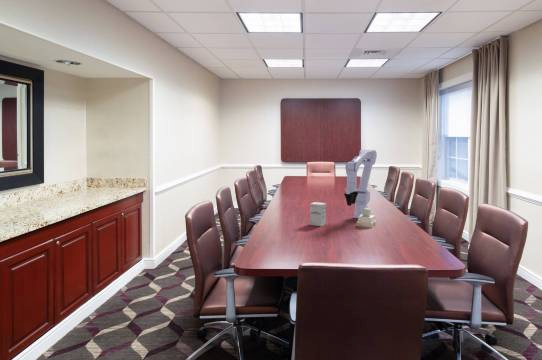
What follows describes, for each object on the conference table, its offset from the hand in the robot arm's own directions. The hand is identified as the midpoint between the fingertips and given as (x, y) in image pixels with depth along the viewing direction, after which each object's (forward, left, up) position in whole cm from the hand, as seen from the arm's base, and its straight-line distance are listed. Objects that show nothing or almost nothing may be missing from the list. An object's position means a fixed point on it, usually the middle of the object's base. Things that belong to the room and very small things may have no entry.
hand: (351, 204), depth 233 cm
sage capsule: (+5, +11, -5) cm, 13 cm away
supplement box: (+17, -14, -11) cm, 25 cm away
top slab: (+5, +11, -8) cm, 14 cm away
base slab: (+5, +11, -11) cm, 16 cm away
